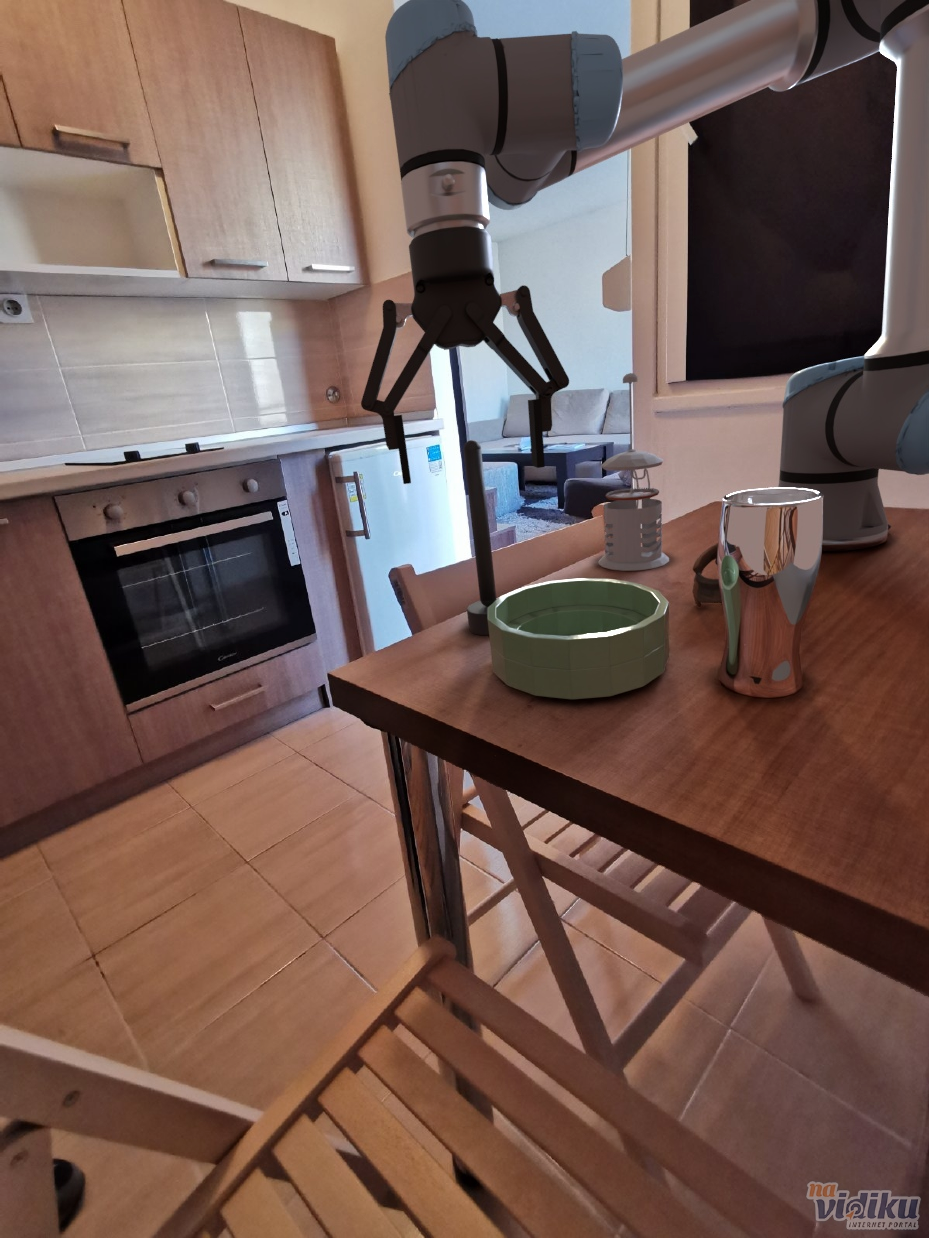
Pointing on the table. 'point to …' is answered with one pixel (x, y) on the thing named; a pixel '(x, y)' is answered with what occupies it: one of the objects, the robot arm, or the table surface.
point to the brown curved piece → (706, 579)
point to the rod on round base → (479, 539)
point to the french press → (633, 513)
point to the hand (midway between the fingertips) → (473, 474)
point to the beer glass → (767, 585)
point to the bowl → (579, 637)
